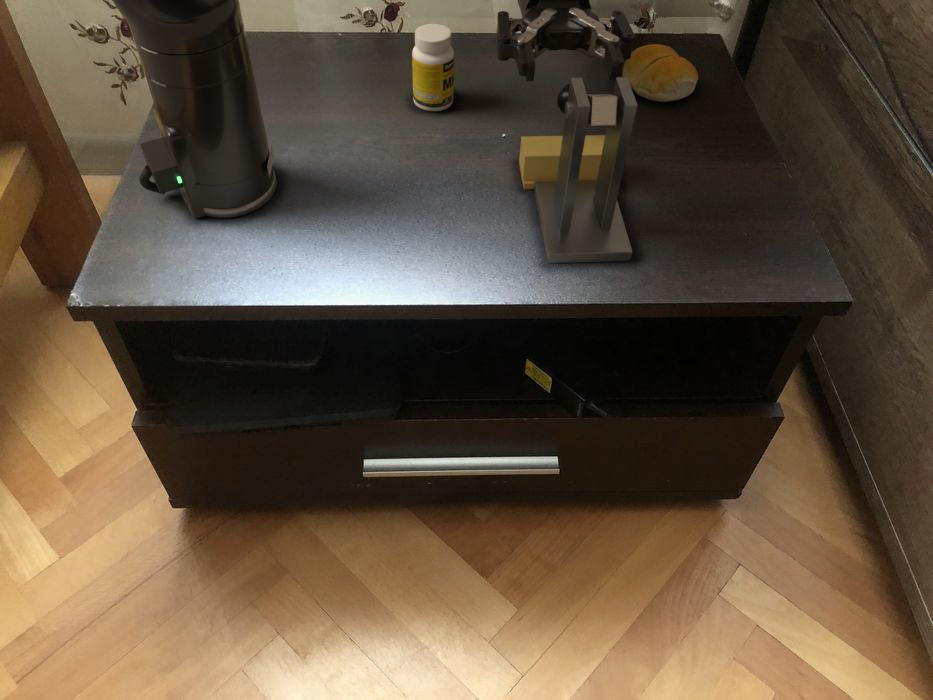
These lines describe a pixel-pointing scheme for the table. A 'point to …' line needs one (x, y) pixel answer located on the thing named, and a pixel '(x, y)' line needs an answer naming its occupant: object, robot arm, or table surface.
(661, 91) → the bread roll
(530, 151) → the butter
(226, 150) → the robot arm
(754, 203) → the table surface
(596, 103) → the knife lever
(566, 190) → the stand
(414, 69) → the supplement bottle
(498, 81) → the table surface
